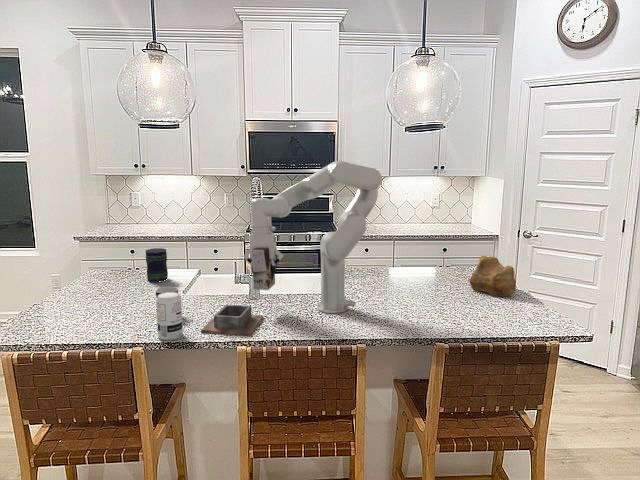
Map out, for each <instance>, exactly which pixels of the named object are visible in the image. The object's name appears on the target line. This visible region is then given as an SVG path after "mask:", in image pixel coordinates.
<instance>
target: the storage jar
mask: <svg viewBox="0 0 640 480" xmlns="http://www.w3.org/2000/svg"><path fill="white" fill-rule="evenodd" d="M167 261H168V254H167V249H166V248H161V247H160V248H155V247H154V248H150V249H149V248H148V249H146V250H145V262H146V278H147V282H148V281H150V282H149V283H151V282H158V283H160V282H159V281H164V280H166V279H167V278H168V277H169V276H168V275H169V272H168V265H167V264H168V263H167ZM168 279H169V278H168ZM164 282H165V281H164Z"/></svg>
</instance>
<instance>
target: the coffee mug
mask: <svg viewBox="0 0 640 480" xmlns="http://www.w3.org/2000/svg"><path fill="white" fill-rule="evenodd" d="M179 290H180V289H179V288H178V287H176V286H164V287H159V288H156V289H155V290H154V291H155V296H156V298H157V297H158V295H159V294H161V293H165V292H176V293H179Z"/></svg>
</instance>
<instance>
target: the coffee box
mask: <svg viewBox="0 0 640 480" xmlns="http://www.w3.org/2000/svg"><path fill="white" fill-rule="evenodd" d="M251 259H252V264H253V273H252V279H253V280H252V281H253V290H260V291H268V290H270V289H271V288H272V287H274V285H276V273H275V274H274V276H271V266H272V264H271V262H270V255H269V248H253V249H252V258H251Z"/></svg>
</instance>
